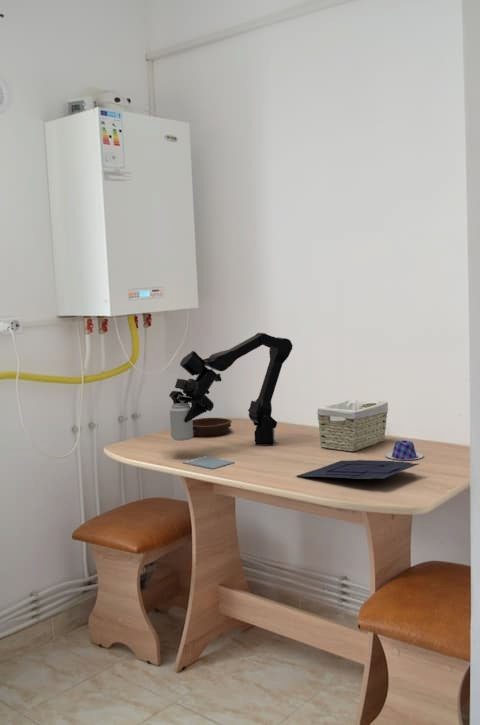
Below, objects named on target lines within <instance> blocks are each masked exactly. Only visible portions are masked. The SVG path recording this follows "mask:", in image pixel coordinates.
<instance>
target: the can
mask: <svg viewBox="0 0 480 725" xmlns="http://www.w3.org/2000/svg"><path fill="white" fill-rule="evenodd" d="M190 408H191V403H189V402H188V403H177V404H174V403H173V404H171V407H170V409H169V422H170V423H169V424H170V437H171V439H173V441H176V442H177V441H178V442H179V441H180V442H181V441H182V442H184V441H188V440H191V439H192V438H193V437H194V435H193V421H192V420H193V419H192V420H190V421H188V422H187V423H186V422H184V419H185V417H186V415H187V414H188V412H189V410H190Z"/></svg>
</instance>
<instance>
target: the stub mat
mask: <svg viewBox="0 0 480 725" xmlns="http://www.w3.org/2000/svg"><path fill="white" fill-rule="evenodd" d="M235 463H236V462H235V461H232V460H226V459H222V458H216V457H211V456H206V455H204V456H200V457H196V458H192V459H190V460H184V461H183V462H182V464H185V465H190V466H194V467H195V466H196V467H199V468H203V469H204V468H205V469H209V470H216V469H219V468H223V467H227V466H229V465H233V464H235Z"/></svg>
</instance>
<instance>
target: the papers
mask: <svg viewBox="0 0 480 725" xmlns="http://www.w3.org/2000/svg"><path fill="white" fill-rule="evenodd" d="M418 465H420V463H413V462H412V461H411V462H410V461H395V460H373V459H372V460H370V459H369V460H365V459H364V460H363V459H357V460H351V459H349V460H339V461H337V462H334V463H331V464H328V465H324V466H323V467H320V468H316V469H313V470H310V471H307V472H304V473H300V474H298V475H296V477H310V478H311V477H313V478H314V477H317V478H318V477H319V478H320V477H321V478H340V479H342V478H343V479H355V480H356V479H357V480H358V479H359V480H361V479H362V480H363V479H366V480H371V479H382V480H383V479H385V478H388V477H390V476H393V475H395V474H398V473H400V472H403V471H405V470H408V469H411V468H413V467H415V466H418Z"/></svg>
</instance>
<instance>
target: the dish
mask: <svg viewBox="0 0 480 725" xmlns="http://www.w3.org/2000/svg"><path fill="white" fill-rule="evenodd" d="M192 421H193V437H200V438H201V437H202V438H203V437H205V438H208V437H209V438H210V437H217V436H222V435H225V434H226V433H228V431H229V429H230V427H231V426H232V422H233V421H232V420H231V419H228V418H220V417H201V418H194V419H192Z"/></svg>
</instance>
